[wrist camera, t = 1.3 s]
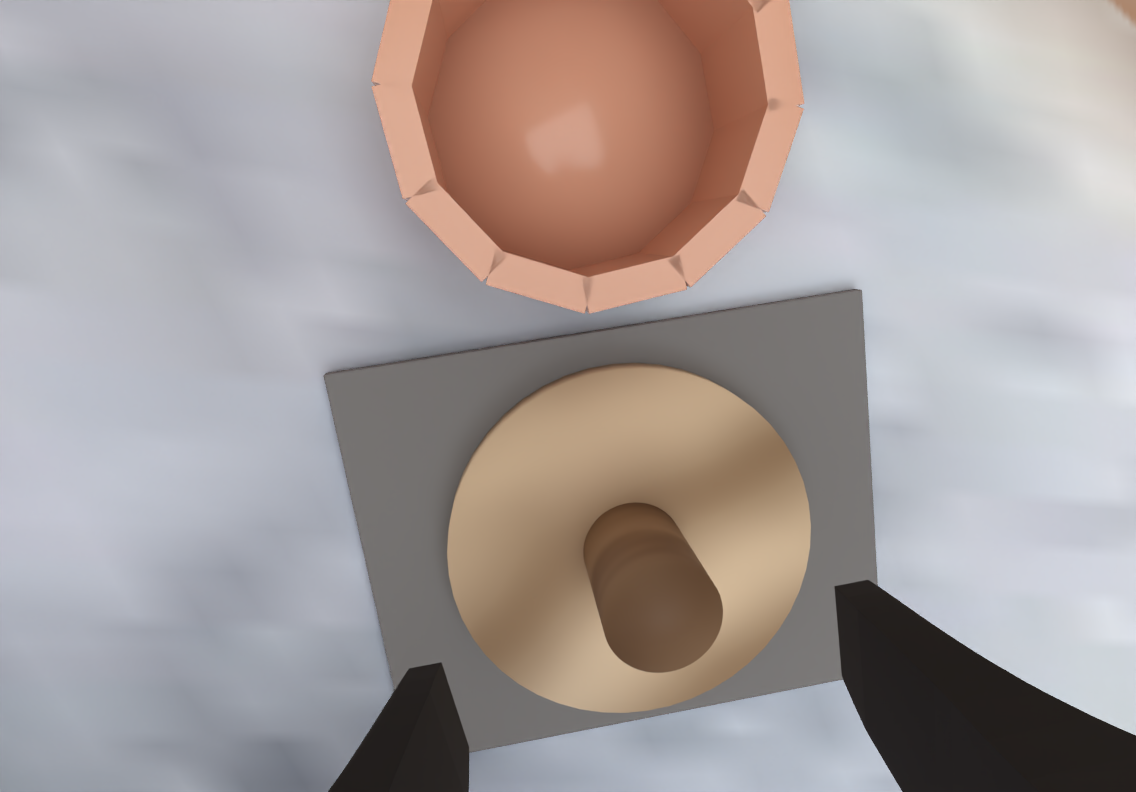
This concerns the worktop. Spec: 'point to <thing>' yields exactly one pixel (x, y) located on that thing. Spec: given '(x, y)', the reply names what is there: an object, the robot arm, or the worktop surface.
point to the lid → (627, 538)
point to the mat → (512, 372)
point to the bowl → (589, 136)
